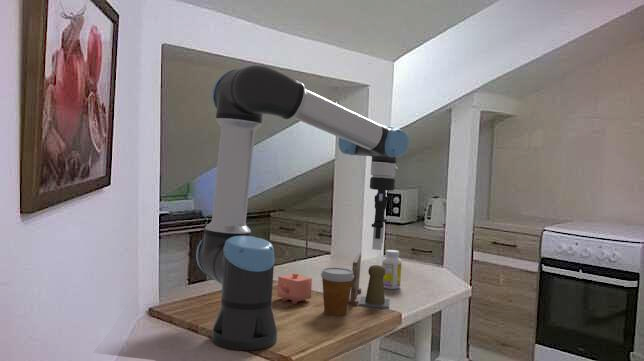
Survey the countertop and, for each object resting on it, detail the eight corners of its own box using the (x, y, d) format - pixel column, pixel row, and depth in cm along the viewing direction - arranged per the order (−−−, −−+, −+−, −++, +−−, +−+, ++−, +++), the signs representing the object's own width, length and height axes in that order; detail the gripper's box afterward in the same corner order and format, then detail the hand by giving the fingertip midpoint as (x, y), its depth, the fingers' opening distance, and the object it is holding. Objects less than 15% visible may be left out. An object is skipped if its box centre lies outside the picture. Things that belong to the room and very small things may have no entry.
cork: (371, 297, 166) (374, 262, 166) (388, 301, 162) (390, 266, 162) (361, 300, 161) (363, 265, 161) (378, 305, 158) (380, 268, 157)
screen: (347, 304, 158) (349, 262, 157) (352, 290, 176) (354, 252, 175) (357, 305, 157) (359, 262, 157) (361, 291, 175) (363, 252, 175)
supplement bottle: (396, 285, 188) (398, 249, 187) (402, 289, 181) (405, 252, 181) (378, 284, 186) (380, 248, 186) (384, 289, 180) (386, 252, 179)
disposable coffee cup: (312, 310, 150) (314, 268, 150) (338, 306, 156) (341, 266, 156) (331, 319, 143) (334, 275, 142) (358, 315, 148) (361, 272, 148)
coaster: (358, 305, 158) (359, 303, 158) (360, 298, 167) (361, 296, 167) (388, 308, 157) (389, 306, 157) (389, 300, 166) (389, 298, 166)
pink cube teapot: (269, 301, 157) (271, 274, 156) (295, 294, 166) (297, 269, 166) (289, 307, 152) (291, 279, 152) (314, 299, 162) (316, 273, 161)
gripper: (394, 178, 147) (389, 253, 148) (395, 177, 172) (390, 241, 173) (368, 176, 148) (362, 251, 149) (372, 175, 173) (367, 239, 174)
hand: (377, 246), depth 161 cm, fingers open, 13 cm apart
